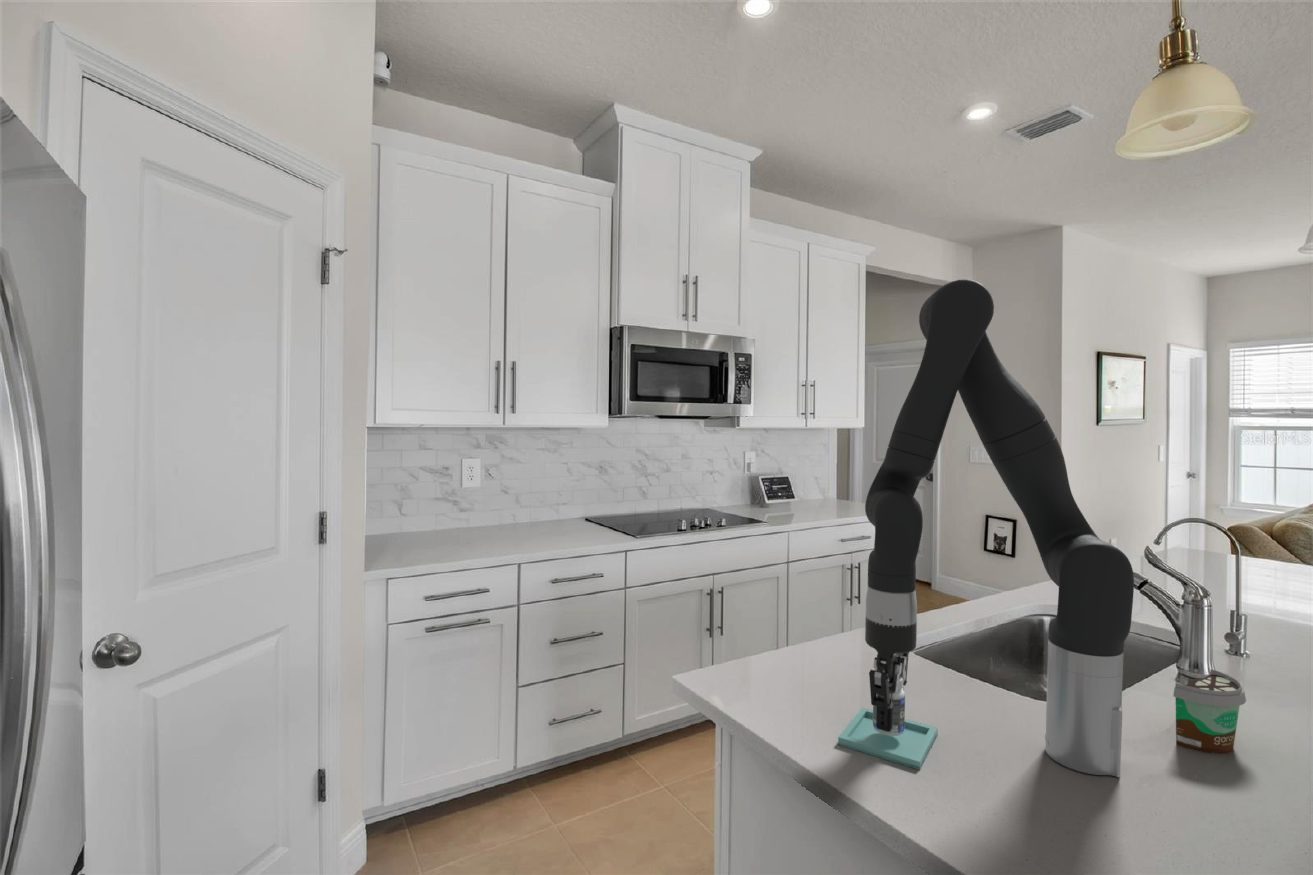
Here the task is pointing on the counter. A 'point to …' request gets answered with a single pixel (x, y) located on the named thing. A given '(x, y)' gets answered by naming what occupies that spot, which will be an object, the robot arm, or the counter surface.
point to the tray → (889, 740)
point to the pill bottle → (894, 712)
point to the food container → (1208, 713)
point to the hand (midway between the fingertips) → (889, 721)
